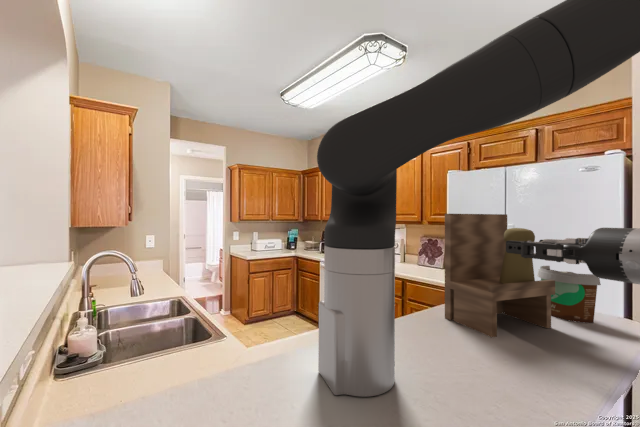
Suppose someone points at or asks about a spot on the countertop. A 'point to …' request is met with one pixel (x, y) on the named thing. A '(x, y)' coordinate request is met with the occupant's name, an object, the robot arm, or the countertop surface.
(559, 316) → the food container
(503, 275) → the cork
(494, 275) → the wooden chair
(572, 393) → the countertop surface
